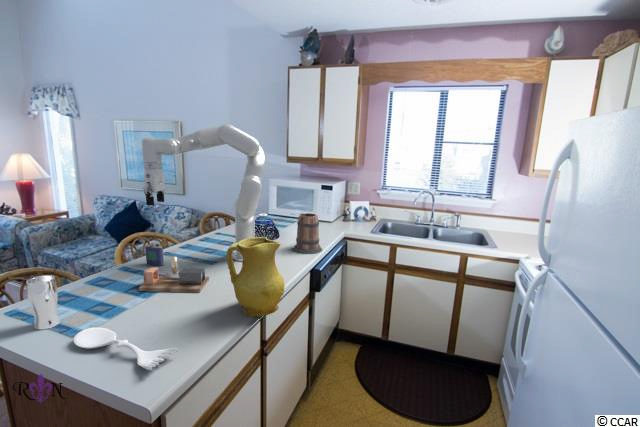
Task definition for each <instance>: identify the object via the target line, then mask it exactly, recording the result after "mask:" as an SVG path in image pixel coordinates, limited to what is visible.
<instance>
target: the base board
mask: <svg viewBox="0 0 640 427" xmlns="http://www.w3.org/2000/svg"><path fill="white" fill-rule="evenodd" d="M209 281H210V276H205V281H204V282H203V284H202V285H180V283H179V280H164V279H163V275H159V280H157V281H156V282H155V283H154V284H144V283H143V284H142V285H140V287H138V290H139V291H145V292H147V293H148V292H149V293H150V292H152V293H155V292H156V293H161V292H162V293H201V292H202V290H203V289H204V288H205V286H206V285H207V284H208V282H209ZM139 291H138V292H139Z"/></svg>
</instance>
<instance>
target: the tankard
mask: <svg viewBox="0 0 640 427" xmlns="http://www.w3.org/2000/svg"><path fill="white" fill-rule="evenodd" d="M318 216H319V215H318V214H316V213H309V212H307V213H299V215H298V219H297V222H296V223H297V230H296V231H297V232H296V233H297V234H296V237H295V238H296V239H295V242H296V244H295V245H294V246H293V248H292V251H293V252H294V253H296V254H301V255H317V254H320V253H321V252H323V248H322V247H321V245H320V237H319V234H320V233H319V226H320V221H319V217H318Z"/></svg>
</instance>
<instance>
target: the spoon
mask: <svg viewBox="0 0 640 427" xmlns="http://www.w3.org/2000/svg"><path fill="white" fill-rule="evenodd" d="M72 341H73V344H74V345H75V346H76V347H79V348H82V349H97V348H102V347H105V346H109V345H112V344H113V345H115V346H116V347H117V348H127V349H129V350H131V351H132V352H133V354H135V356H136V358H137V361H136V363H137V365H138V366H139V367H141V368H143V369H145V370H147V371H152V370H153V368H156V366H159V364H160V363H162V362H164V361H165V359H168V358H170V356H171V355H173V354H174V353H175V352H178V348H177V347H171V348H166V349H155V350H149V351H147V350H142V349H141V348H139V347H138V346H136V345H134V344H132V343H130V342H129V340H128V339H123V340H121V339H117V333H116V332H115V331H113V330H111V329H109V328H106V327H97V326H96V327H89V328H85V329H82V330H81V331H79V332H78V333H76V334H75V335H74V337H73V339H72Z"/></svg>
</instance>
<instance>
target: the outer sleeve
mask: <svg viewBox="0 0 640 427" xmlns="http://www.w3.org/2000/svg"><path fill="white" fill-rule="evenodd" d="M178 272H179V283H180V285H202V284H203V282H204V281H205V277H206V268H197V267H196V268H195V267H194V268H193V267H190V268H189V267H183V268H182V269H181V270H180V271H178ZM202 273H203V279H202V275H201V274H202Z"/></svg>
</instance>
